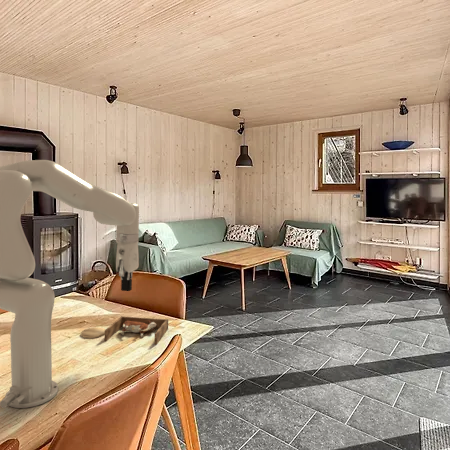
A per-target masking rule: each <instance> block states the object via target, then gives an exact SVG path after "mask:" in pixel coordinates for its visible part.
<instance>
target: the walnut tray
mask: <svg viewBox="0 0 450 450" xmlns="http://www.w3.org/2000/svg"><path fill="white" fill-rule="evenodd" d="M149 320H150V322H151V323H152V322H154V323H156V326H155V327H154V330H157V331H156V332H155V333H154V345H155V346H157V345H158V344H159V342H161V340H162V338H163V337H164V336H165V334H166V332H168V331H169V319H167V318H166V319H164V318H163V319H162V318H151V317H135V316H120V317H119V318H118V319H116V320H115V321H114V322H113V323H111V325H109V326H108V327H107V328H106V329H105V335H104V342H107V341H109V340H110V338H112V337H113V336H114V335H115V334H117V332H119V330H121V329H122V328H124V327H123V323H125V321H134V322H141V323H145V324H150V323H149ZM150 330H153V329H152V328H151V329H150Z"/></svg>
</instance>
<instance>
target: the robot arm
mask: <svg viewBox="0 0 450 450" xmlns="http://www.w3.org/2000/svg"><path fill="white" fill-rule="evenodd" d="M32 192H41V193H44V194H46V195H49V196H50V197H52V198H54V199H56V200H58V201H59V202H62V203H63V204H65V205H67V206H69V207H71V208H74V209H77V210H80V211H83V212H89V213H90V212H91V213H92V214H93V218H94V220H95V221H96V222H97V223H99V224H101V225H104V226H105V225H108V226H116V228H115V229H116V230H115V231H116V233H115V235H116V236H115V239H116V240H115V242H116V244H117V246H116V254H115V256H116V259H115V270H116V272H118V276H119V277H120V280H121V281H120V282H121V285H120V286H121V287H120V288H121V289H120V290H121V292H130V291H132V288H133V287H132V286H133V272H134V271H136V270H138V268H139V267H140V266H139V263H140V260H139V257H140V255H139V235H140V234H139V231H140V230H139V228H140V227H139V226H140V206H139V205H138V204H137V203H131V202H130V201H128V200H127V199H125V198H124V197H122V196H120V195H118V194H117V193H114V192H111V191H109V190H106V189H105V188H102V187H99V186H97V185H94V184H92V183H89V182H88V181H86V180H84V179H82V178H80V177H79V176H77V175H76V174H74V172H71V171H70V170H68V169H67V168H65V167H63V166H62V165H61V164H59V163H57V162H55V161H52V160H48V159H35V160H33V159H31V160H30V159H29V160H22V161H18V162H15V163H10V164H6V165H2V166H0V310H2V311H6V312H10V313H12V314H14V316H15V317H14V320H13V323H12V325H11V328H10V338H9V339H10V373H11V385H10V387H9V390H8V391H7V392H6V394H5V395H4V396H5V397H4V398H3V399H2V400H0V407H1V408H2V409H5V408H6V407H8V406H9V407H11V408H15V409H17V408H18V409H27V408H33V407H37V406H40V405H42V404H45V403H47V402H49V401H51V400H53V398H55V396H57V394H58V392H59V384H58V383H57V382H56V381H55V380H53V379H52V378H53V377H52V376H53V374H52V373H53V371H52V369H53V367H52V366H53V365H52V318H53V317H52V316H53V310H54V306H55V300H56V299H55V298H56V297H55V296H56V295H55V291H54V289H53V288H52V286H51V285H50V284H49V283H47V282H45V281H43V280H40V279H38V278H37V279H36V278H32V277H30V276H31V275H33V273H34V271H35V269H36V260H35V256H34V254H33V252H32V248H31V246H30V244H29V242H28V239H27V237H26V234H25V232H24V229H23V226H22V223H21V215H22V212H23V210H24V207H25V205H26V204H27V202H28V200H29V198H30V197H31V194H32Z"/></svg>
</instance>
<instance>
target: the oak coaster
mask: <svg viewBox="0 0 450 450" xmlns="http://www.w3.org/2000/svg"><path fill="white" fill-rule="evenodd" d="M105 330H106V329H105V328H103V327H99V326H98V327H89V328H86V329H84V330H82V331H81V332H80V333H81V334H80V336H81V337H82V338H84V339H97V338H101V337H103V336H105Z"/></svg>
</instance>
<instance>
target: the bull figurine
mask: <svg viewBox="0 0 450 450" xmlns="http://www.w3.org/2000/svg"><path fill="white" fill-rule="evenodd" d="M149 323H150V324H145V323H141V322H134V321H125V323H123V327H122V328H123V329H122V330H121V332H120V334H121V336H124V335H125V332H130V331H131V332H133V333H135V334H136V333H140V336H139V337H141V338H144V334H145V333H147V332H148V331H150V330H152V331H154V330H155V329H154V327H155V326H156V323H154V322H152V323H151V322H150V320H149ZM151 328H152V329H151Z"/></svg>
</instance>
